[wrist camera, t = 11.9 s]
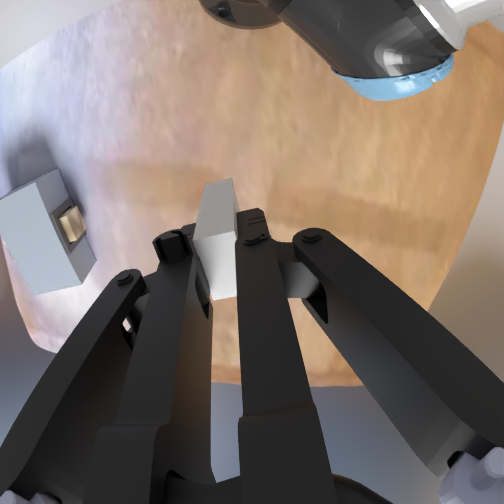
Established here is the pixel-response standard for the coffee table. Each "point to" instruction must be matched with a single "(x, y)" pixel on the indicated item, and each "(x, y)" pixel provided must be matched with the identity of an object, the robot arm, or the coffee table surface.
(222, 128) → the coffee table surface
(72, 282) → the sleeve block
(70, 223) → the peg
